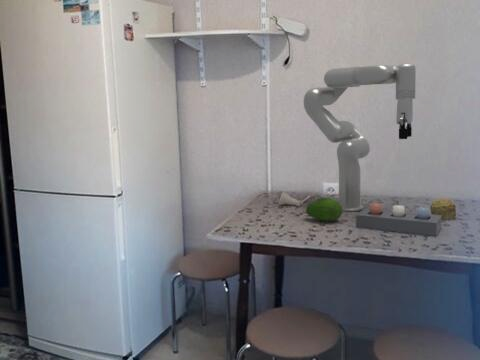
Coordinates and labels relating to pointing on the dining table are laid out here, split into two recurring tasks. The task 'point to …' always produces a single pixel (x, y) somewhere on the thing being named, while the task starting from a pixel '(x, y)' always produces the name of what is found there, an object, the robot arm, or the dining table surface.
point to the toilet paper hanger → (290, 200)
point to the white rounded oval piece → (398, 211)
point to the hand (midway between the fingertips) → (405, 137)
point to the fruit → (324, 209)
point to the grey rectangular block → (399, 222)
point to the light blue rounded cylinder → (423, 213)
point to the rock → (443, 208)
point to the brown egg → (375, 208)
